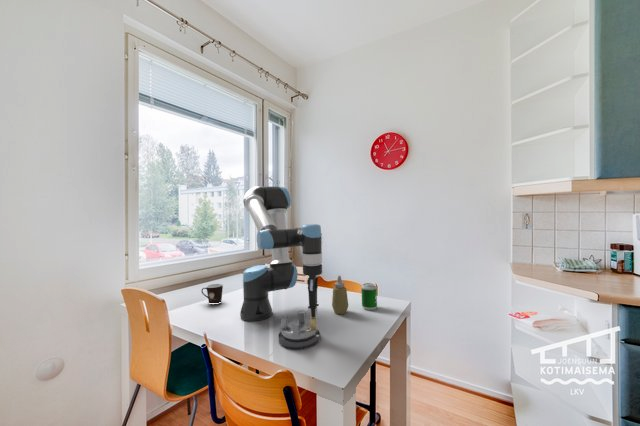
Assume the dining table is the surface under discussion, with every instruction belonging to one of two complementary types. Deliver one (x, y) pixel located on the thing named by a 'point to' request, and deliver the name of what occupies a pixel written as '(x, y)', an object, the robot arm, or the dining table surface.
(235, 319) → the dining table surface
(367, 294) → the soda can
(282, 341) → the mounting flange
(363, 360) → the dining table surface
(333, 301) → the squeeze bottle
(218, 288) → the coffee mug
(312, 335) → the four-lug metal disc
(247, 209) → the robot arm
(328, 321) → the dining table surface
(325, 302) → the dining table surface
